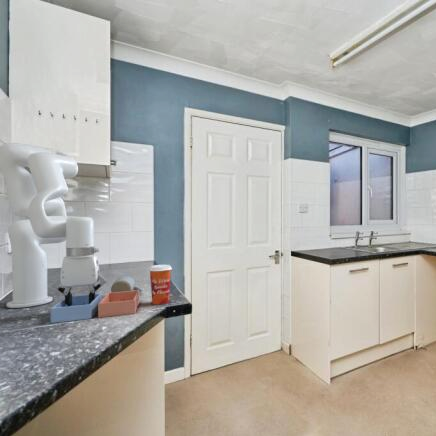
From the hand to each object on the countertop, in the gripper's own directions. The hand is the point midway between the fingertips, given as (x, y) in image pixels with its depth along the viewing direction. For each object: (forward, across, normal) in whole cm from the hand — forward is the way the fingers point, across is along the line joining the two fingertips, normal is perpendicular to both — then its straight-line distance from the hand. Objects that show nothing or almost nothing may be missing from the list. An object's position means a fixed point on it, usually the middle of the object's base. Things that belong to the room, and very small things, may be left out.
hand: (80, 304), depth 108 cm
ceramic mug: (+3, -12, -18) cm, 22 cm away
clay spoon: (+2, -12, +2) cm, 12 cm away
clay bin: (+2, -12, +2) cm, 13 cm away
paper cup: (+3, -24, 0) cm, 25 cm away
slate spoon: (+2, 0, +2) cm, 3 cm away
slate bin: (+2, 0, +2) cm, 4 cm away
